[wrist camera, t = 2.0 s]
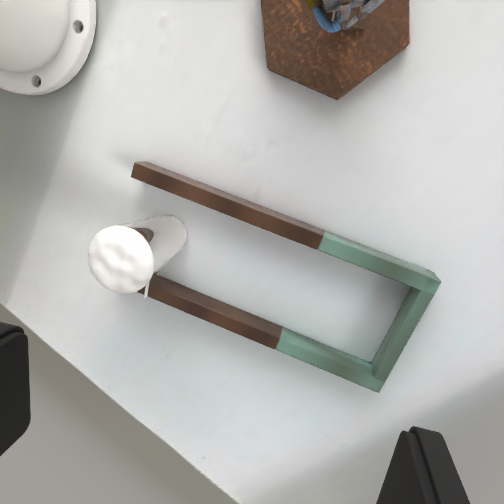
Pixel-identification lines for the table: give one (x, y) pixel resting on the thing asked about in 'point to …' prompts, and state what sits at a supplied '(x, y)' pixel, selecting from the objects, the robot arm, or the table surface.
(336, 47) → the robot figurine
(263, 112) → the table surface
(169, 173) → the slide track
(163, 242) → the milkshake
